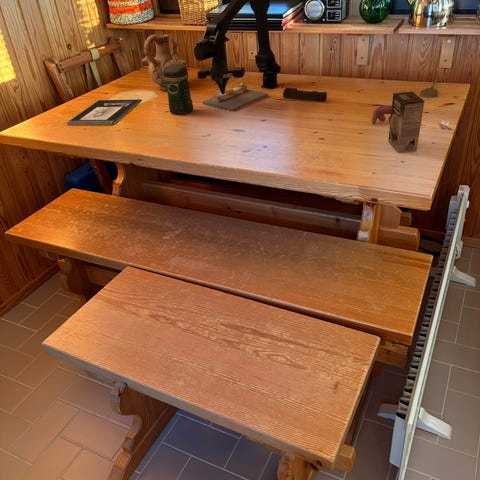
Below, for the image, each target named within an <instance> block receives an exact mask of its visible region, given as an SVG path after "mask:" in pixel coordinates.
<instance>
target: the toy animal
mask: <svg viewBox="0 0 480 480" xmlns="http://www.w3.org/2000/svg"><path fill="white" fill-rule="evenodd" d="M391 110H392V105H379V106H377V107H376V108H375V109H374V110H373V113H372V119H371V123H372V125H373V126H374V125H376V123H377V120H378V121H379V122H380V123H384V122H385V121H386V115H389V116H388V119H387V120H388V122H389V123H390V120H391Z"/></svg>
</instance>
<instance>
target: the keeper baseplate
mask: <svg viewBox="0 0 480 480" xmlns="http://www.w3.org/2000/svg"><path fill="white" fill-rule="evenodd" d="M239 85H240V86H245V85H246V84H245V82H241V83H240V84H239ZM225 92H227V93H231V92H233V89H232V88H230V87H226V89H225ZM215 93H216V94H219V93H221V91H220V89H219V87H218V86H217V87H215ZM216 94H215V95H216ZM268 96H269V93H268V92H262V91H258V90H252V89H248V88H247V91H246V92H242V93H240V94H237V95H235V96H232V97H230V98H227V99H224V100H222V101H219V102H217V101H214V100H213V97H210V98H208V99H205V100H203V101H202V105H203V106H204V105H205V106H208V107H211V108H214V109H215V108H217V109H219V108H220V109H219V110H223V109H224V111H227V110H229V111H228V112H231V111H234V112H235V110H236V111H238V110H240V109H242V107H243V108H244V107H246V106H249V105H252V104H254V103H256V102H258V101H260V100H263V99H265V98H267V97H268ZM251 103H252V104H251ZM237 109H238V110H237Z"/></svg>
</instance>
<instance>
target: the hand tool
mask: <svg viewBox="0 0 480 480" xmlns="http://www.w3.org/2000/svg"><path fill="white" fill-rule="evenodd" d="M282 98H284V99H287V100H294V101H295V100H296V99H297V100H306V101H307V100H310V101H316V102H317V101H318V102H319V101H320V102H322V103H325V102H327V98H328V93H327V91H309V90H300V89H298V88H297V87H285V88H284V90H283V92H282Z"/></svg>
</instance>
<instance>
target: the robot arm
mask: <svg viewBox="0 0 480 480" xmlns="http://www.w3.org/2000/svg"><path fill="white" fill-rule="evenodd" d="M248 2H249V6H250V8H251V11H252V12H253V13H254V18H255V26H256V35H257V36H256V37H257V44H258V52H257V54H255V55H254V58H255V63H254V64H255V65H256V67H257V69H258V72H259V73H262V84H261V86H260V87H261V88H264V89H268V90H269V89H270V90H273V89H275V88H277V87H279V86H281V84H280V83H278V75H279V74H280V73H281V69H282V67H281V66H280V65H279V64H278V63H277V61H276V56H275V53H274V52H273V50H272V48H271V42H270V41H271V40H270V39H271V38H270V29H269V21H268V11H269V8H270V7H271V0H231V1H230V2H229V3H228V4H227V5H226V6H225V7H224V9H223V10H222V11H221V13H219V14H218V15H215V16H213V18H211V19H209V21H207V23H206V26H205V27H206V28H205V31H204V33H203V36H202V39H201V40H200V41H196V42H195V44H196V45H195V46H194V49H193V55H194V57H195V59H196V60H197V61H199V62H201V61H206V60H208V59H211V67H210V68H209V67H206V68H205V67H203V68H202V67H201V69H199V71H198V72H197V73H196V74H197V79H198V80H206V78H207V77H209V76H210V78H211V81H214V82H215V83H216V85H217V87H219V89H220V91H221V93H222V94H225V89H226V88H227V84H228V81H229V80H230V79H232V78H231V77H233V78H235V79H240V78H241V79H242V78H244V76H245V74H246V72H245V71H246V70H245V67H242V66H239V67H238V66H236V67H234V68H233V69H229V66H228V55H227V50H226V49H227V48H226V42H230V38H228V37H227V33H228V31H229V30H230V25H231V22H232V21H233V20H234V18H235V17H236V16H237V15H238V13H240V11H241V10H242V9H243V8H244V6H246V4H247V3H248Z"/></svg>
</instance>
